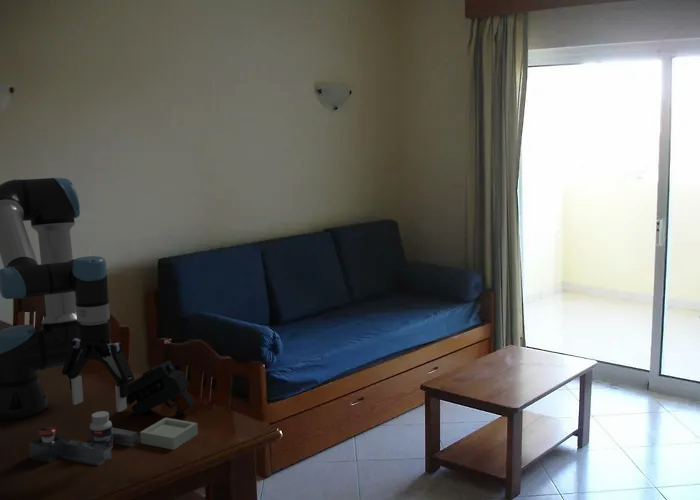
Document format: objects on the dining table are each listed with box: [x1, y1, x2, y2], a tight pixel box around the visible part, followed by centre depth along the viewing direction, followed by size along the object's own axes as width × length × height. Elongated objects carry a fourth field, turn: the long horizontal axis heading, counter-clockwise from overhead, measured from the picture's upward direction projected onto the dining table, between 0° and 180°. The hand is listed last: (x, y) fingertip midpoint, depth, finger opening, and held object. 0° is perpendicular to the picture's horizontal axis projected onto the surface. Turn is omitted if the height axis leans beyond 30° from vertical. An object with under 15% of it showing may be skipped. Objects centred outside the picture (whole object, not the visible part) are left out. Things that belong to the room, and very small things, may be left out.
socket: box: [58, 427, 141, 467], centre depth 177 cm, size 12×16×3 cm
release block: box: [28, 433, 69, 464], centre depth 173 cm, size 6×6×4 cm
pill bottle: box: [89, 410, 114, 450], centre depth 176 cm, size 5×5×9 cm
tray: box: [139, 417, 199, 451], centre depth 182 cm, size 10×10×3 cm
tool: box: [126, 360, 195, 417], centre depth 199 cm, size 6×19×15 cm, turn 79°
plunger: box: [38, 426, 57, 444], centre depth 173 cm, size 4×4×6 cm
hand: (99, 406), depth 175 cm, fingers open, 13 cm apart
